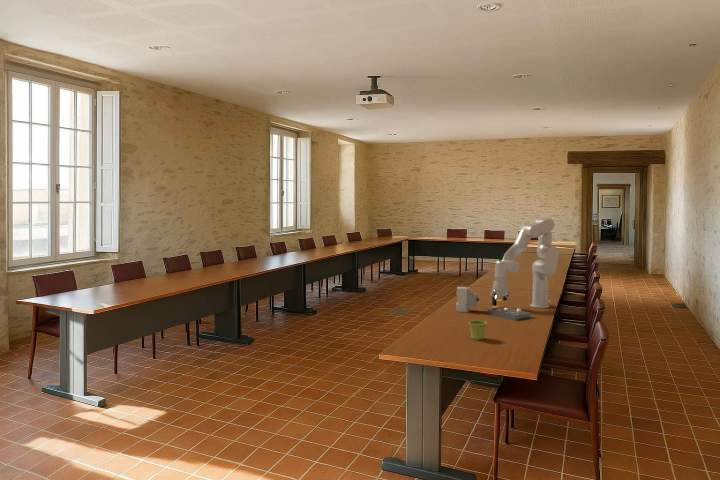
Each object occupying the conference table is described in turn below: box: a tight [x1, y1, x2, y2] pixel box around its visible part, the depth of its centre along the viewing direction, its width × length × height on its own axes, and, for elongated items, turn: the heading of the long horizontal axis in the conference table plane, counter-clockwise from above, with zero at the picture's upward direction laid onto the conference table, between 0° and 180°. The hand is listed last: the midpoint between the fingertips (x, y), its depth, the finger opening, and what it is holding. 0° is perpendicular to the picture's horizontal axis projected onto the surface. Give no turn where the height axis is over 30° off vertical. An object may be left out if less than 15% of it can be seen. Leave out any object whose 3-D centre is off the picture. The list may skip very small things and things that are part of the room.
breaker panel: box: [487, 307, 532, 321], centre depth 341 cm, size 14×22×3 cm, turn 34°
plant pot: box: [468, 320, 488, 341], centre depth 286 cm, size 9×9×9 cm
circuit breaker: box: [455, 286, 480, 313], centre depth 354 cm, size 8×14×15 cm, turn 78°
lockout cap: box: [491, 298, 509, 308], centre depth 361 cm, size 7×7×6 cm
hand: (499, 305), depth 361 cm, fingers open, 9 cm apart
